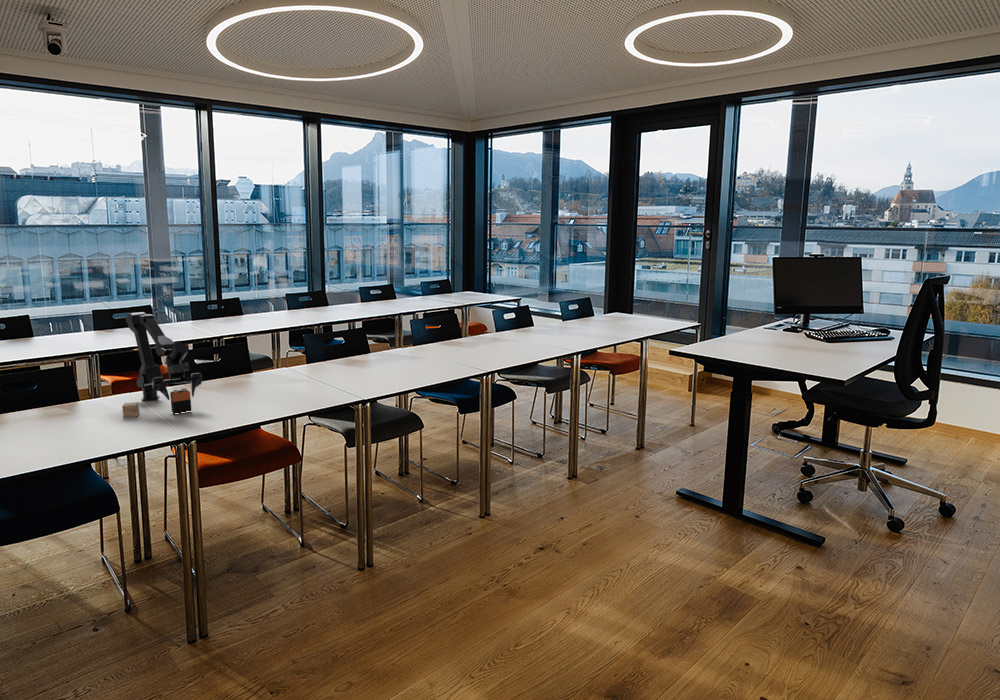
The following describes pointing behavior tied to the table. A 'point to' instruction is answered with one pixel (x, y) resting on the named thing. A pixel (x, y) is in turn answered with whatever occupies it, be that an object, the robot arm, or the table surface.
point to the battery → (180, 401)
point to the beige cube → (130, 409)
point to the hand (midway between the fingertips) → (181, 398)
